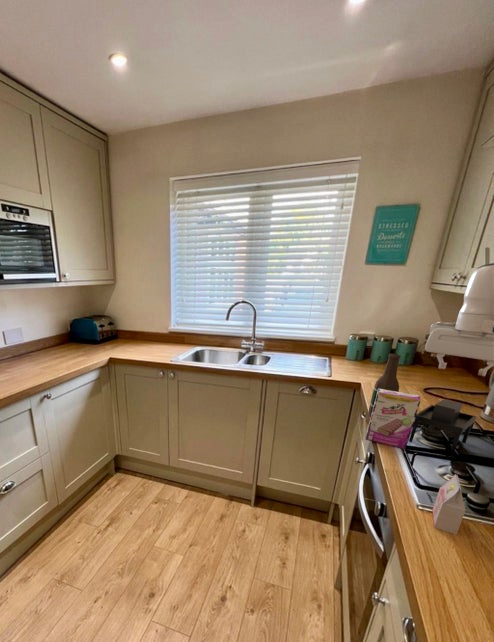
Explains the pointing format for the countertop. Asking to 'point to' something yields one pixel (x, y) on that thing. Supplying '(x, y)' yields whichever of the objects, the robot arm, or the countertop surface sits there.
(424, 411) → the black tray stand
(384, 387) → the beer bottle
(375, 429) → the candy bar box
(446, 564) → the countertop surface
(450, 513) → the small gable carton
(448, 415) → the black box
